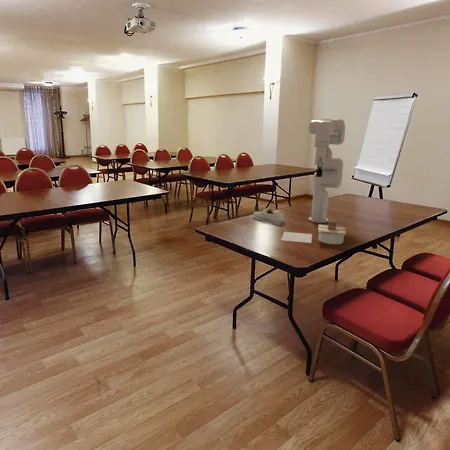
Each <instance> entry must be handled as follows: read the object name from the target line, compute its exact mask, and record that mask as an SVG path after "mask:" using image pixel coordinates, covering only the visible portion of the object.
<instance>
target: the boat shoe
mask: <svg viewBox="0 0 450 450" xmlns="http://www.w3.org/2000/svg"><path fill="white" fill-rule="evenodd" d="M252 216H253V218H254V219H255V220H257V221H260V222H261V221H262V222H266V223H267V222H268V223H270V224H273V225H276V226H282V225H283V226H284V225H285V214H284V213H277V212H274V210H273V209H272V208H271V207H269V208H268V207H267V208H264V209H263V210H262V211H255V212H253V214H252Z"/></svg>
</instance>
